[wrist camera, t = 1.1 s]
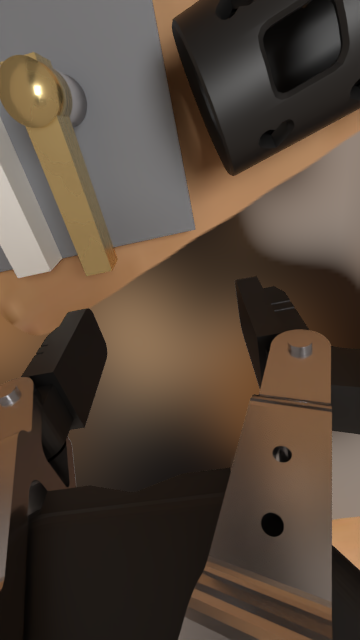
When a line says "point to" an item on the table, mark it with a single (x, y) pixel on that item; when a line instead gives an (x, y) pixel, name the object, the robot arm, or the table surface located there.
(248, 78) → the muzzle brake
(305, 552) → the robot arm
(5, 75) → the swing bar
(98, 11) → the lock board
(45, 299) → the table surface
